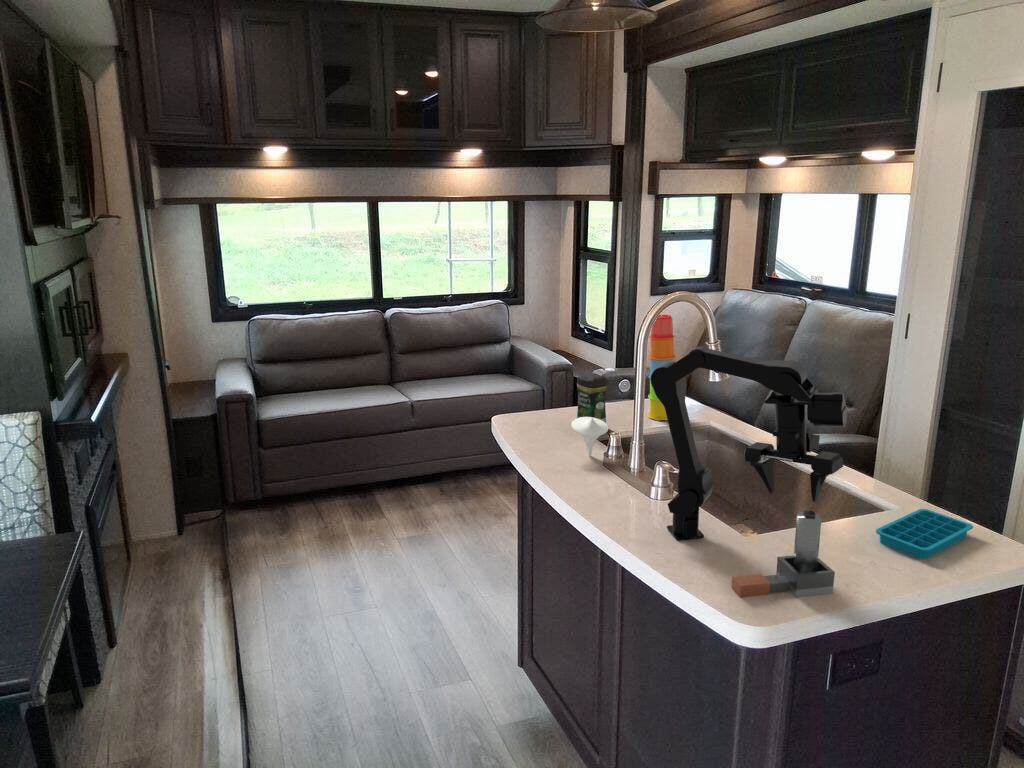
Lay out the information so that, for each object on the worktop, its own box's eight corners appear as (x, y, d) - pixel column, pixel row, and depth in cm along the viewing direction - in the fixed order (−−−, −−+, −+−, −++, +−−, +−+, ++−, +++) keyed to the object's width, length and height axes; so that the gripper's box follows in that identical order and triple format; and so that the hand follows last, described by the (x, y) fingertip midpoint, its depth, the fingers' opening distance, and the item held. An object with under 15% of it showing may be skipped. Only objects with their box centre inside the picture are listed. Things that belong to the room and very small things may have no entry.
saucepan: (727, 582, 148) (728, 562, 147) (811, 573, 150) (812, 553, 149) (744, 603, 140) (746, 581, 139) (832, 593, 143) (834, 571, 142)
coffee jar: (572, 427, 244) (572, 372, 239) (591, 422, 248) (591, 368, 244) (591, 435, 236) (591, 378, 231) (610, 430, 240) (611, 374, 236)
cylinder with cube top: (790, 571, 148) (795, 507, 145) (813, 573, 148) (819, 508, 144) (794, 582, 144) (799, 516, 141) (818, 584, 143) (824, 518, 140)
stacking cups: (657, 422, 247) (660, 319, 238) (642, 414, 256) (644, 314, 247) (684, 419, 250) (688, 317, 241) (668, 410, 259) (671, 312, 250)
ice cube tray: (973, 538, 164) (975, 525, 164) (924, 564, 154) (926, 551, 153) (921, 519, 174) (922, 507, 173) (871, 543, 163) (872, 530, 162)
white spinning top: (614, 458, 216) (615, 419, 213) (581, 464, 212) (581, 424, 209) (597, 447, 225) (597, 409, 222) (565, 453, 221) (565, 414, 218)
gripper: (854, 419, 149) (855, 492, 153) (767, 410, 163) (769, 477, 166) (830, 434, 142) (831, 510, 145) (740, 423, 156) (744, 493, 159)
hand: (793, 497), depth 154 cm, fingers open, 9 cm apart
